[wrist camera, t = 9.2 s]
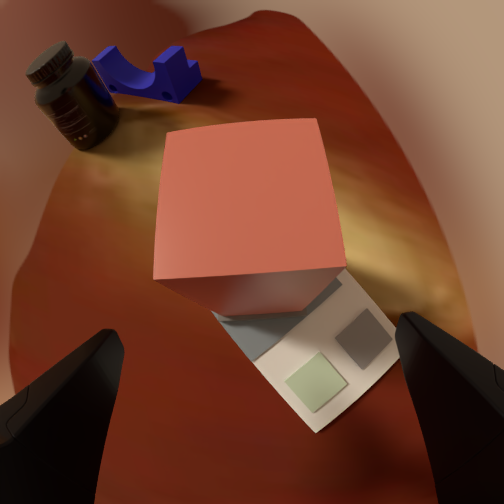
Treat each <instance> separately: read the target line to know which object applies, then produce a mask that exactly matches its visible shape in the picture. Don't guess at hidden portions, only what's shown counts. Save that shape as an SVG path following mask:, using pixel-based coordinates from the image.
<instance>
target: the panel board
mask: <svg viewBox="0 0 504 504" xmlns="http://www.w3.org/2000/svg"><path fill="white" fill-rule="evenodd" d="M306 309H307V315H306V316H304V317H293V318H280V319H267V320H251V321H232V322H220V323H221V324H222V326H223V327H224V328H225V330H226V331H227V332H228V333H229V335H230V336H231V337H232V338H233V340H234V341H235V342H236V343H237V345H238V346H239V347H240V348H241V349H242V351H243V352H244V353H245V354H246V356H247V357H248V358H249V359H250V360H251V361H252V362H253V364H254V365H255V366H256V367H257V368H258V370H259V371H260V372H261V373H262V374H263V375H264V377H265V378H266V379H267V380H268V381H269V382H270V384H271V385H272V386H273V387H274V388H275V389H276V390H277V392H278V393H279V394H280V395H281V396H282V397H283V398H284V399H285V401H286V402H287V403H288V404H289V405H290V406H291V407H292V408H293V409H294V411H295V412H296V413H297V414H298V415H299V416H300V417H301V418H302V419H303V420H304V421H305V423H306V424H307V425H308V426H309V427H310V428H311V429H312V430H313V431H314V432H315V433H317V432H318V431H319V430H321V429H322V428H323V427H324V426H326V425H327V424H328V423H330V422H331V421H332V420H333V419H334V418H336V417H337V416H338V415H339V414H341V413H342V412H343V411H344V410H345V409H346V408H348V407H349V406H350V405H351V404H352V403H353V402H354V401H356V400H357V399H358V398H359V397H360V396H361V395H362V394H363V393H364V392H365V391H367V390H368V389H369V388H370V387H371V386H372V385H373V384H374V383H375V382H376V381H377V380H378V379H379V378H380V377H381V376H382V375H383V374H384V373H385V372H386V371H387V370H388V369H389V368H390V367H391V366H392V365H393V364H394V363H395V362H396V361H397V360H398V359H399V358H400V356H399V352H398V348H397V345H396V341H395V331H396V328H395V326H394V325H393V324H392V323H391V321H390V320H389V319H388V318H387V317H386V315H385V314H384V313H383V312H382V311H381V309H380V308H379V307H378V306H377V305H376V303H375V302H374V301H373V300H372V299H371V297H370V296H369V295H368V294H367V293H366V292H365V290H364V289H363V288H362V287H361V286H360V285H359V284H358V282H357V281H356V280H355V279H354V278H353V277H352V275H351V274H350V273H349V272H348V271H347V270H346V269H344V270H343V271H342V272H341V273H340V274H339V275H338V276H337V277H336V278H335V279H334V280H333V281H332V282H331V283H330V284H329V285H328V286H327V287H326V288H325V289H324V290H323V291H322V292H321V293H320V294H319V295H318V296H317V297H316V298H315V299H314V300H313V301H312V302H311V303H310V304H309V305H307V306H306ZM212 313H213V314H214V315H215V317H216V318H217V319H218V314H217V313H215V312H213V311H212Z"/></svg>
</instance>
